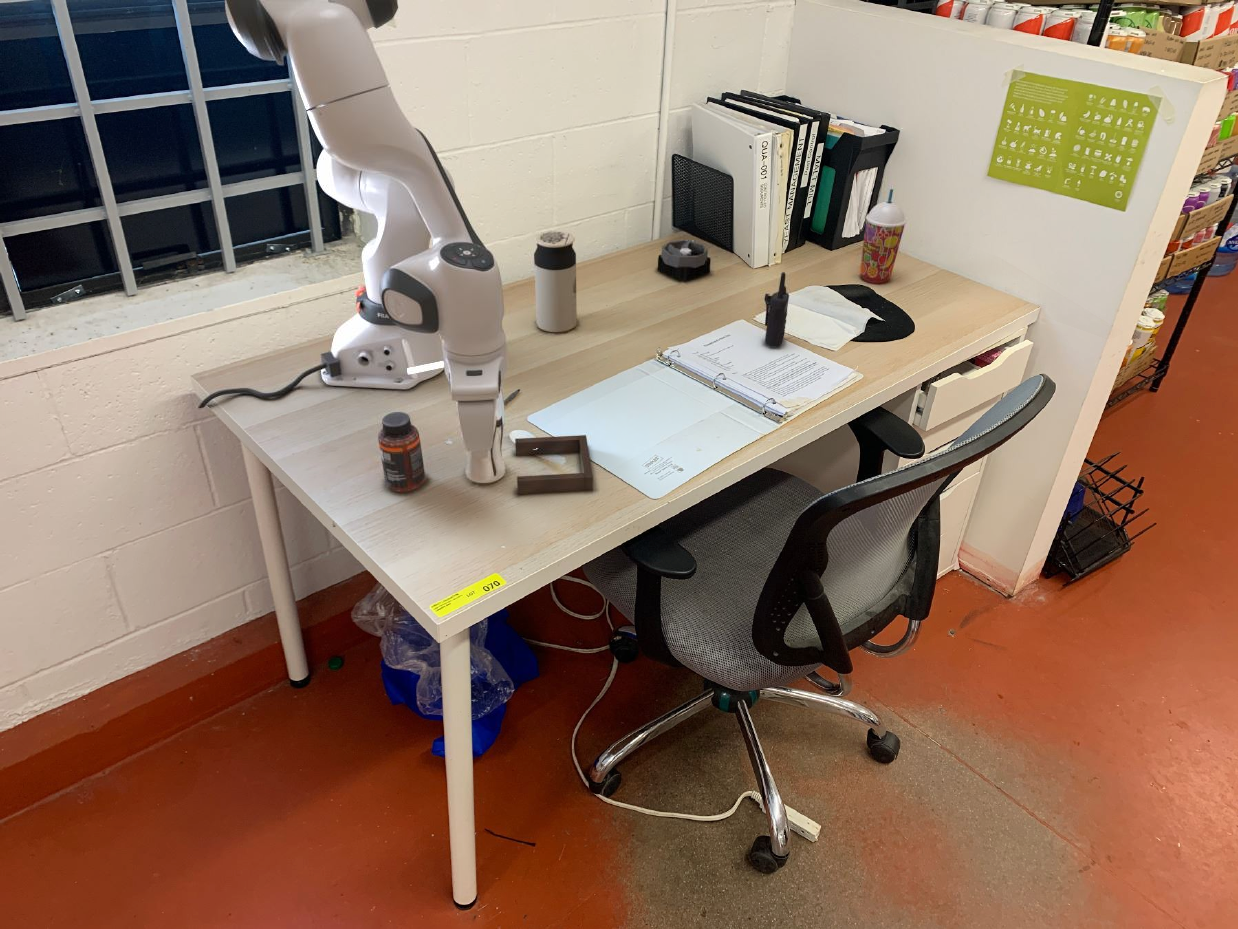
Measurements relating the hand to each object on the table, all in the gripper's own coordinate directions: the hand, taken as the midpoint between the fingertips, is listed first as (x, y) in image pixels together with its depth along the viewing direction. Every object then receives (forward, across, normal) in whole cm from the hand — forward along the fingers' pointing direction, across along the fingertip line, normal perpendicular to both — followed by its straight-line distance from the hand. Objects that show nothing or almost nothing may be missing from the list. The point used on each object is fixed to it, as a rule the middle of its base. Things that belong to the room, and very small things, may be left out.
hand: (482, 441), depth 136 cm
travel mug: (+6, -50, +14) cm, 52 cm away
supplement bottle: (+6, +1, -12) cm, 13 cm away
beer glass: (+6, 0, 0) cm, 6 cm away
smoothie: (+6, -67, +86) cm, 109 cm away
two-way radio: (+6, -39, +55) cm, 68 cm away
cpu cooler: (+6, -74, +44) cm, 86 cm away
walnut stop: (+6, 0, +10) cm, 12 cm away
